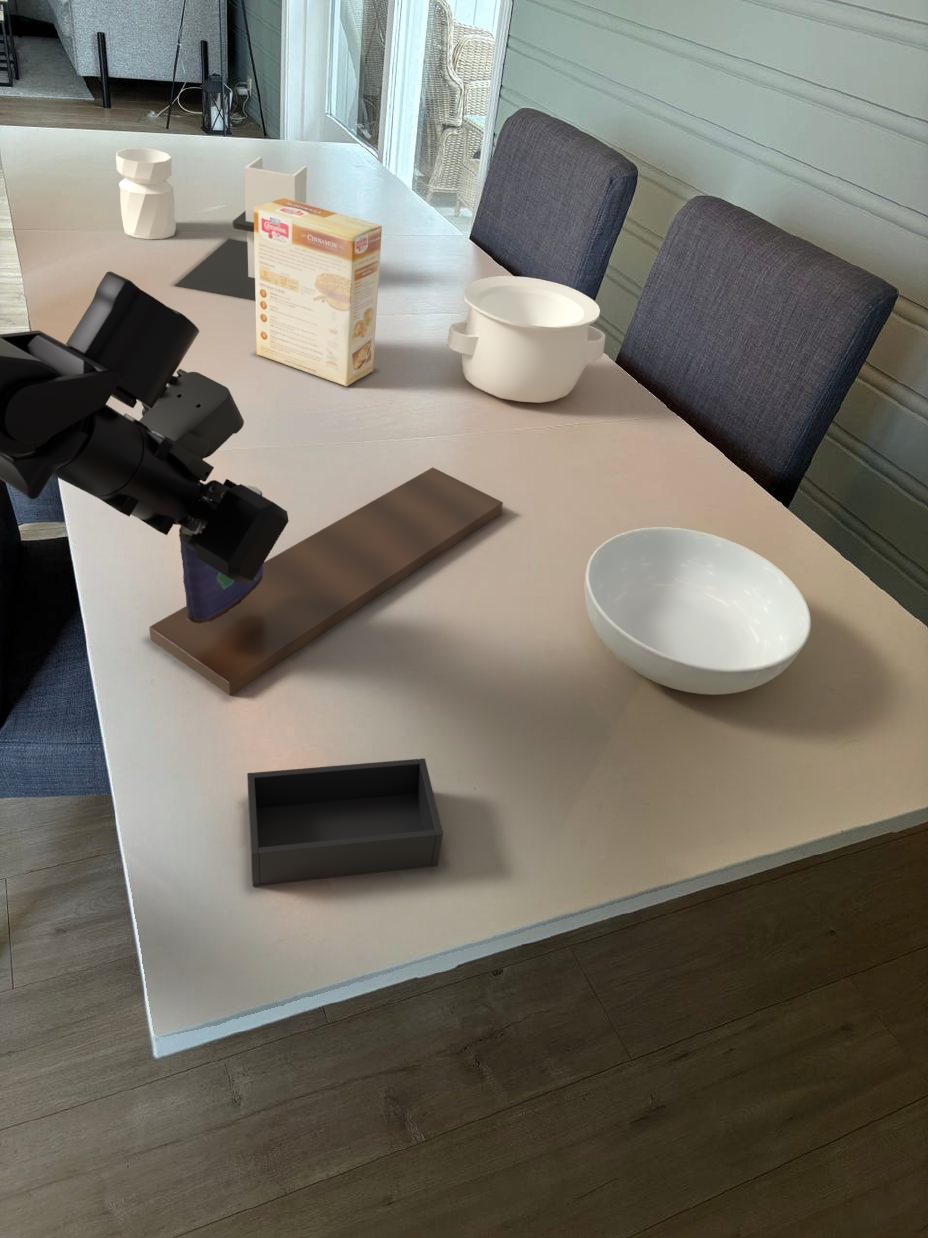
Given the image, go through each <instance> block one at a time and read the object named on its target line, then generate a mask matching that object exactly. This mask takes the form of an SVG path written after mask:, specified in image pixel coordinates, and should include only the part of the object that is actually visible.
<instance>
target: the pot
mask: <svg viewBox="0 0 928 1238" xmlns="http://www.w3.org/2000/svg"><path fill="white" fill-rule="evenodd" d="M463 298H464V300H465V302H466V303H467V304H468V305H469V309H468V312H467V316H466V320H462V321H460V322H454V323H451V324H450V326H449V329H448V335H447V341H446V346H447V347H449V349H450V350H452V351H454V352H457V353H459V354H461V365H462V372H463V375H464V378H465V379H466V381H467V382H468V383H469V384H471V385H472V386H474V387H475V388H476V389H479V390H481V391H482V392H485V393H486V394H490V395H492V396H495V397H497V398H499V399H502V400H508V401H509V400H510V401H515V402H520V403H521V402H523V403H535V404H536V403H537V404H540V403H548V402H553V401H556V400H559V399H561V398H564V397H567V396H568V395H569V393H571V391H572V390H573V389H574V388H575V386H576V384H577V383H578V380H579V378H580V377H581V375H582V373H583V371H584V370H585V369H586V366H587V364H591V363H592V364H593V363H597V362H598V361H600V360H601V358H602V357H603V355H604V351H605V345H606V337H607V336H606V334H605V333H604V332H603V331H602V330H600V329H598V328H596V327H594V326H591V324H594V323H595V322H596V321H597V320H598V319H599V317H600V313H601V309H600V306H599V304H598V303H596V301H595V300H594V299H592V298H591V297H589V296H588V295H586V294H585V293H583V292H581V291H579V290H577V289H574V288H572V287H570V286H567V285H565V284H560V283H557V282H553V281H549V280H546V279H545V280H544V279H540V278H535V277H527V276H515V275H512V276H511V275H500V276H499V275H498V276H497V275H496V276H489V277H484V278H480V279H477V280H474V281H473V282H471V283H469V284H467V285H466V286H465V288H464V291H463Z"/></svg>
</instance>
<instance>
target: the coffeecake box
mask: <svg viewBox="0 0 928 1238" xmlns="http://www.w3.org/2000/svg"><path fill="white" fill-rule="evenodd" d="M382 232H383V225H381V224H377V223H373V222H371V221H368V220H363V219H359V218H356V217H353V216H349V215H346V214H342V213H338V212H336V211H331V210H329V209H325V208H321V207H318V206H315V205H312V204H308V203H306V204H305V203H301V202H297V201H294V200H291V199H288V198H283V199H279V200H275V201H272V202H270V203H267V204H263V205H260V206H257V207H254V250H255V296H256V300H255V337H256V338H255V341H256V342H255V343H256V344H255V345H256V355H257V356H260V357H263V358H266V359H269V360H272V361H274V362H277V363H279V364H280V363H281V364H283V365H286V366H289V367H291V368H294V369H297V370H300V371H303V372H305V373H308V374H311V375H313V376H315V377H319V378H321V379H324V380H327V381H331V382H333V383H336V384H338V385H340V386H344V387H348V386H350V385H352V384H353V383H355V382H356V381H359V380H360V379H361V378H364V377H366V376H367V375H369V374H370V373H372V372H373V371H374V362H375V361H374V359H375V345H376V328H377V315H378V314H377V312H378V299H379V298H378V297H379V281H380V265H381V252H382V251H381V249H382V248H381V247H382Z"/></svg>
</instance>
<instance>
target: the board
mask: <svg viewBox="0 0 928 1238" xmlns="http://www.w3.org/2000/svg"><path fill="white" fill-rule="evenodd" d="M503 503H504V502H503V501H502V500H500V499H498V498H495V497H493V496H491V495H489V494H487V493H486V492H484V491H482V490H480V489H477V488H475V487H473V486H472V485H469V484H467V483H465V482H463V481H462V480H459V479H457V478H455V477H453V476H452V475H449V474H447V473H446V472H444V471H441V470H439V469H438V468H435V467H434V466H433V467H430V468H428V469H427V470H425V471H423V472H421V473H419V474H418V475H416V476H415V477H413V478H411V479H409V480H407V481H405V482H404V483H402V484H401V485H398V486H397V487H395V488H393V489H391V490H390V491H388V492H386V493H385V494H382V495H381V496H379V497H377V498H375V499H374V500H372V501H370V502H368V503H366V504H365V505H363V506H362V507H360V508H358V509H356V510H354V511H352V512H351V513H349V514H347V515H345V516H344V517H342V518H340V519H338V520H337V521H335V522H333V523H331V524H330V525H327V526H326V527H324V528H322V529H320V530H319V531H317V532H315V533H314V534H312V535H310V536H308V537H306V538H304V539H303V540H301V541H299V542H297V543H296V544H293V545H292V546H290V547H289V548H287V549H285V550H284V551H281V552H280V553H279V554H276V555H274V556H273V557H271V558H268V559H266V560H265V561H264V563H263V577H262V579H261V582H260V583H259V585H257V586H256V588H255V589H254V590H253V591H251V593H250V594H249V595H247V596H246V598H244V599H243V600H242V601H241V603H240V604H238V605H237V606H236V607H235V608H234V609H232V610H230V611H228V613H226V614H225V615H223V616H221V617H219V618H218V619H216V620H214V621H212V622H210V623H205V624H203V625H200V624H194V623H192V622H190V621H189V620H187V607H186V606H184V607H182V608H180V609H178V610H176V611H174V612H172V613H171V614H169V615H168V616H166V617H165V618H163V619H161V620H159V621H157V622H155V623H154V624H152V625H150V626H149V627H148V631H149V636H150V641H152V642H153V643H155V644H156V645H157V646H159V647H160V648H161V649H163V650H165V652H167V653H169V654H170V655H172V657H174V658H176V659H177V660H179V661H180V662H182V663H183V664H184V665H186V666H187V667H189V668H190V669H192V670H193V671H194V672H196V674H199V675H200V676H201V677H203V678H204V679H206V680H207V681H208V682H210V683H211V684H213V685H214V686H215V687H217V688H218V689H220V690H221V691H223V692H224V693H225V694H227V695H229V696H232V695H233V694H235V693H236V692H238V691H239V690H240V689H242V688H244V687H245V686H247V684H250V683H251V682H252V681H254V680H256V679H257V678H258V677H260V676H261V675H263V674H264V673H266V672H267V671H268V670H270V669H272V668H273V667H275V666H277V665H278V664H279V663H281V662H282V661H283V660H285V659H287V658H288V657H289V656H291V655H293V654H294V653H295V652H297V651H298V650H300V649H301V648H303V647H305V646H306V645H307V644H309V643H310V642H312V641H314V639H315V640H316V638H318V637H319V636H321V635H322V634H324V633H326V632H327V631H328V630H330V629H331V628H333V627H334V626H336V625H337V624H338V623H340V622H342V621H344V619H347V617H349V616H350V615H352V614H353V613H355V612H357V611H358V610H360V609H361V608H363V607H364V606H365V605H367V604H368V603H370V602H371V601H373V600H374V599H376V598H377V597H379V596H380V595H382V594H384V593H385V592H386V591H387V590H389V589H391V588H392V587H394V586H395V585H397V584H398V583H400V582H402V580H404V579H406V578H407V577H408V576H410V575H411V574H413V573H414V572H416V571H417V570H419V569H421V568H422V567H424V566H425V565H427V564H428V563H429V562H431V561H433V560H434V559H436V558H437V557H439V556H440V555H441V554H443V553H445V551H447V550H450V549H451V548H452V547H453V546H454V545H456V544H457V543H459V542H460V541H462V540H463V539H465V538H467V537H468V536H469V535H471V534H473V533H474V532H475V531H477V530H479V529H481V527H483V526H485V525H486V524H487V523H489V522H490V521H492V520H493V519H495V518H496V517H498V516H500V515H501V514H502V509H503Z"/></svg>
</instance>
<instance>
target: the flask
mask: <svg viewBox="0 0 928 1238" xmlns="http://www.w3.org/2000/svg"><path fill="white" fill-rule="evenodd" d="M244 486H245V487H247V488H249V489H251V490H252V491H254V492H256V493H258V494H259V495H261V496H263V492H262V490H260V489H259V488H258V487H257V486H254V485H253V486H252V485H244ZM178 532H179V534H178V537H179V542H180V555H181V561H182V572H183V574H182V576H183V577H182V579H183V581H182V582H183V587H184V592H185V602H186V606H185V607H187V620H189V621H190V622H192V623H194V624H200V625H203V624H205V623H210V622H212V621H214V620H216V619H218V618H219V617H221V616H223V615H225V614H226V613H228V611H230V610H232V609H234V608H235V607H236V606H237V605H238V604H240V603H241V601H242V600H243V599H244V598H246V596H247V595H249V594H250V593H251V591H253V590H254V589H255V588H256V586H257V585H259V583H260V582H261V579H262V577H263V565H262V566H261V568H260V570H259V571H258V573H257V575H256V576H255V578H254V580H253V581H252V582H249V583H246V584H244V585H243V584H240V583H238V582H236V581H234V580H232V579H230V578H228V577H227V576H225V575H223V574H222V573H220V572H219V571H217V570H215V569H214V568H212V567H211V566H209V565H208V564H206V563H204V562H203V561H201V560H200V559H198V558H196V553H195V552H193V551H192V550H190V549H188V548H187V547H186V544H187V543H188V541H189V540H190V538H191V536H192V535H193V533H192V532H190V531H189V530H187V529H185V528H184V527H182V526H181V525H180V527H179V529H178Z"/></svg>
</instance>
